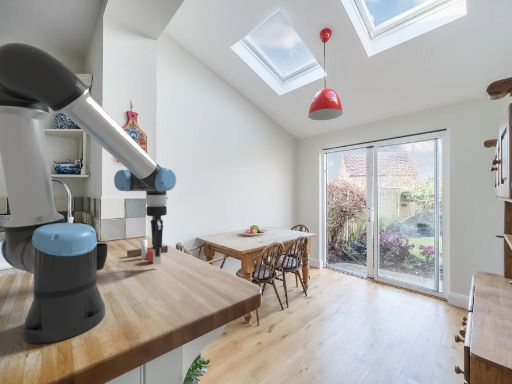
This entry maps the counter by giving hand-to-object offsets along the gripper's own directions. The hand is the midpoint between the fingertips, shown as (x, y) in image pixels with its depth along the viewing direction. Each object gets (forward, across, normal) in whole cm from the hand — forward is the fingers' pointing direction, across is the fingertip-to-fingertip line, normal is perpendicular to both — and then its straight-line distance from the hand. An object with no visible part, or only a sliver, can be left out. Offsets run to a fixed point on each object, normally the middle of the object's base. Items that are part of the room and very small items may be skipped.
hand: (156, 263), depth 95 cm
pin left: (+2, +17, +2) cm, 18 cm away
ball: (-1, +10, 0) cm, 10 cm away
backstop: (+2, +24, 0) cm, 25 cm away
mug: (+2, +15, +21) cm, 26 cm away
